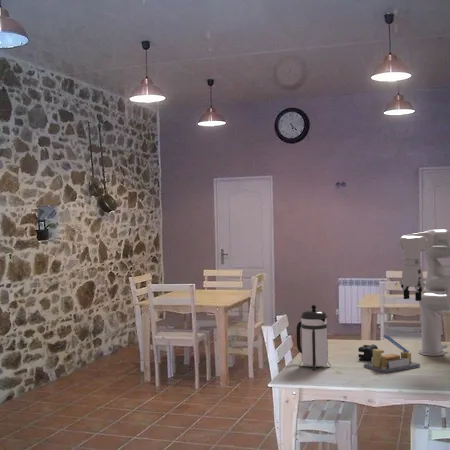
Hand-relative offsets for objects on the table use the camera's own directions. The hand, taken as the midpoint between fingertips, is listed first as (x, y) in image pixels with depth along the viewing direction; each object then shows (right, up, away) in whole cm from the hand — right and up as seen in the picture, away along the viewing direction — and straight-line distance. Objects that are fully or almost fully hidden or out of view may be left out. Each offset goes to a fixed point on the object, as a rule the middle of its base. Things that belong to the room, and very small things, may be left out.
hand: (412, 299), depth 299 cm
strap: (-8, -22, -1) cm, 23 cm away
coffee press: (-48, -33, +2) cm, 58 cm away
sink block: (-10, -32, -2) cm, 34 cm away
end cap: (-17, -32, +16) cm, 40 cm away
